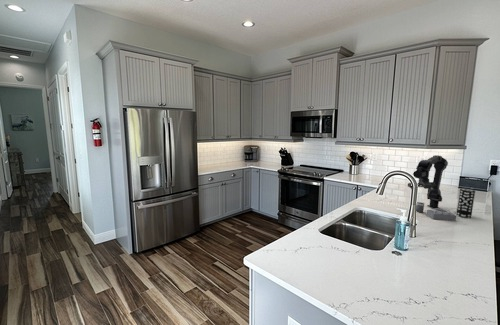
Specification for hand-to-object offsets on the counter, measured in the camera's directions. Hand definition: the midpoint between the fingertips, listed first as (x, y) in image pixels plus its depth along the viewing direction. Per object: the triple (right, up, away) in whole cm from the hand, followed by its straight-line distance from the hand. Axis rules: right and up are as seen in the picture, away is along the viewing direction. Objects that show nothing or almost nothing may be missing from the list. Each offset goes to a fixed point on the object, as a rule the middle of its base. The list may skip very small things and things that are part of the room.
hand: (421, 196), depth 183 cm
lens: (0, -12, +2) cm, 12 cm away
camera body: (+6, -14, -11) cm, 18 cm away
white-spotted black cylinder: (+26, -14, -7) cm, 30 cm away
